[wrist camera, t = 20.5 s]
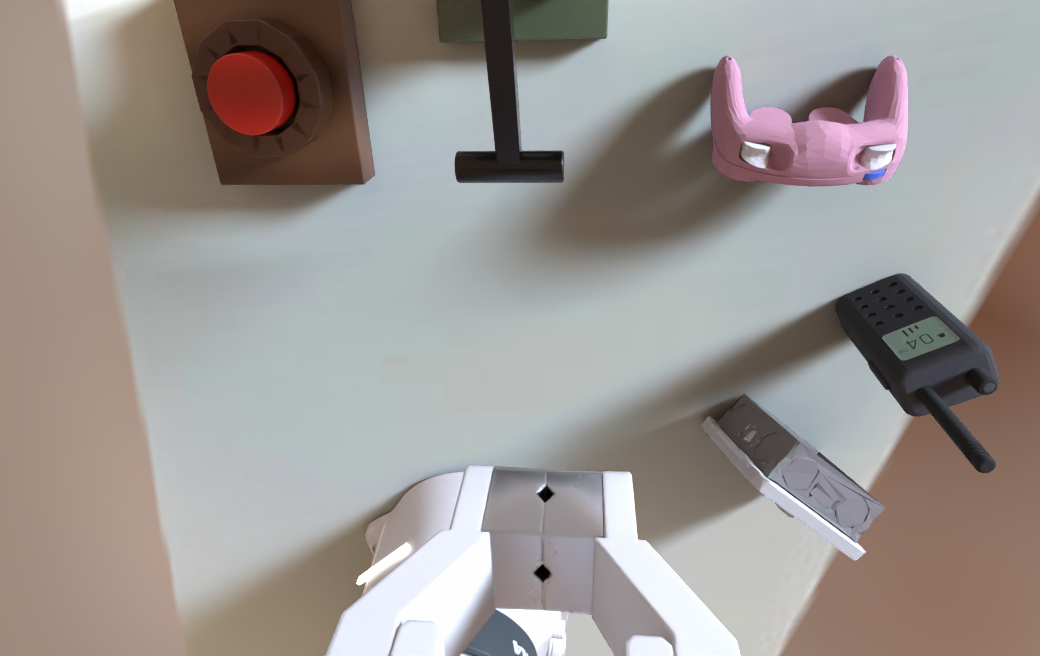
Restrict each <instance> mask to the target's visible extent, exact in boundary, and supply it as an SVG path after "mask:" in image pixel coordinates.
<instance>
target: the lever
mask: <svg viewBox="0 0 1040 656" xmlns="http://www.w3.org/2000/svg"><path fill="white" fill-rule="evenodd" d="M480 2H481V12H482V22H483V32H484V42H485V52H486V62H487V72H488V82H489V92H490V102H491V112H492V122H493V132H494V142H495V151H458V152H457V153H456V156H455V175H456V179H457V182H459V183H562V182H563V181H564V152H563V151H522V146H521V130H520V115H519V99H518V84H517V69H516V53H515V38H514V23H513V7H512V0H480Z"/></svg>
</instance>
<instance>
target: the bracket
mask: <svg viewBox="0 0 1040 656" xmlns="http://www.w3.org/2000/svg"><path fill="white" fill-rule="evenodd" d="M512 7H513V23H514V38H515V41H529V40H569V39H606V38H607V24H608V0H512ZM437 12H438V25H439V37H440V42H441V43H449V42H484V32H483V22H482V12H481V2H480V0H437Z"/></svg>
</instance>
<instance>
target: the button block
mask: <svg viewBox="0 0 1040 656" xmlns="http://www.w3.org/2000/svg"><path fill="white" fill-rule="evenodd" d="M174 3H175V7H176V11H177V14H178V18H179V22H180V26H181V30H182V34H183V38H184V42H185V46H186V50H187V54H188V57H189V61H190V65H191V69H192V78H193V82H194V86H195V90H196V94H197V98H198V102H199V106H200V110H201V111H202V113H203V116H204V120H205V124H206V128H207V132H208V136H209V140H210V144H211V148H212V151H213V155H214V159H215V163H216V167H217V171H218V175H219V179H220V183H221V184H222V185H363V184H365V183H366V182H367V181H369V180H370V179H371V178H372V177H373V176H374V175H375V172H374V164H373V157H372V150H371V143H370V135H369V128H368V121H367V114H366V106H365V99H364V92H363V85H362V77H361V70H360V63H359V56H358V48H357V41H356V34H355V26H354V19H353V12H352V5H351V0H174ZM244 51H259V52H263V53H266V54H268V55H270V56H271V57H273V58H275V59H276V60H277V61H278V62H279V63H280V64H281V65H282V66H283V67H284V68H285V69H286V70H287V72H288V73H289V75H290V77H291V79H292V81H293V84H294V87H295V92H296V104H295V109H294V112H293V114H292V116H291V118H290V119H289V120H288V121H287V122H286V123H285V124H284V125H282V126H281V127H278V128H276V129H274V130H271V131H269V132H267V133H264V134H261V135H246V134H243V133H240V132H238V131H235V130H234V129H232V128H230V127H229V126H228V125H226V124H225V123H224V122H223V121H222V120H221V119H220V118H219V116H218V115H217V114H216V112H215V111H214V109H213V107H212V105H211V102H210V100H209V96H208V91H207V80H208V75H209V72H210V70H211V68H212V66H213V65H214V63H215V62H216V61H217V60H218V59H220V58H221V57H223V56H225V55H228V54H233V53H238V52H244Z"/></svg>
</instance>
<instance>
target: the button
mask: <svg viewBox="0 0 1040 656" xmlns="http://www.w3.org/2000/svg"><path fill="white" fill-rule="evenodd" d="M207 91H208V96H209V100H210V102H211V105H212V107H213V109H214V111H215V112H216V114H217V115H218V116H219V118H220V119H221V120H222V121H223V122H224V123H225V124H226V125H228V126H229V127H230V128H232V129H234V130H235V131H238V132H240V133H243V134H246V135H261V134H264V133H267V132H269V131H271V130H274V129H276V128H278V127H281V126H282V125H284V124H285V123H286V122H287V121H288V120H289V119H290V118H291V116H292V114H293V112H294V109H295V104H296V92H295V87H294V84H293V81H292V79H291V77H290V75H289V73H288V72H287V70H286V69H285V68H284V67H283V66H282V65H281V64H280V63H279V62H278V61H277V60H276V59H275V58H273V57H271V56H270V55H268V54H266V53H263V52H259V51H244V52H238V53H233V54H228V55H225V56H223V57H221V58H220V59H218V60H217V61H216V62H215V63H214V65H213V66H212V68H211V70H210V72H209V75H208V80H207Z"/></svg>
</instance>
